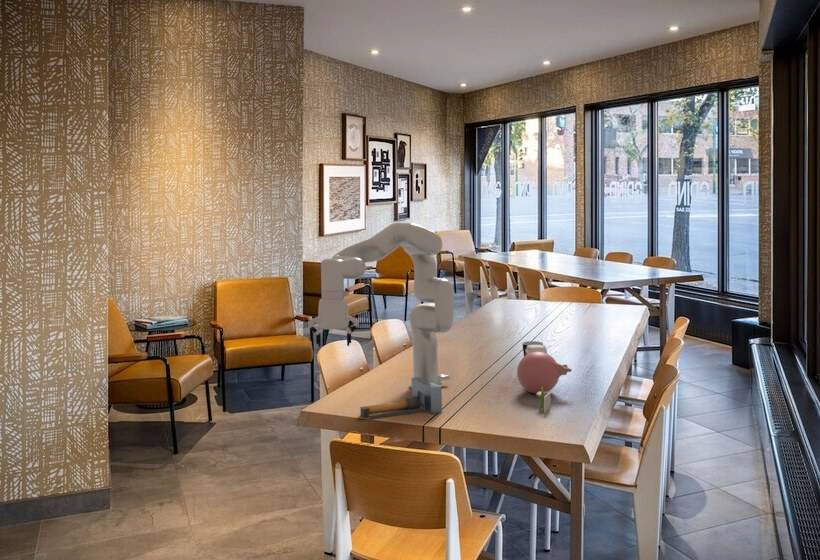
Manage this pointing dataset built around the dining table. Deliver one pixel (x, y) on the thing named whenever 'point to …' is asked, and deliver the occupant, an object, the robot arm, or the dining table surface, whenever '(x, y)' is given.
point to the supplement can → (535, 348)
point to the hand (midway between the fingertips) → (333, 345)
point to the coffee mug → (529, 344)
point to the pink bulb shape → (540, 372)
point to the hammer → (392, 406)
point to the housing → (428, 394)
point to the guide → (396, 413)
